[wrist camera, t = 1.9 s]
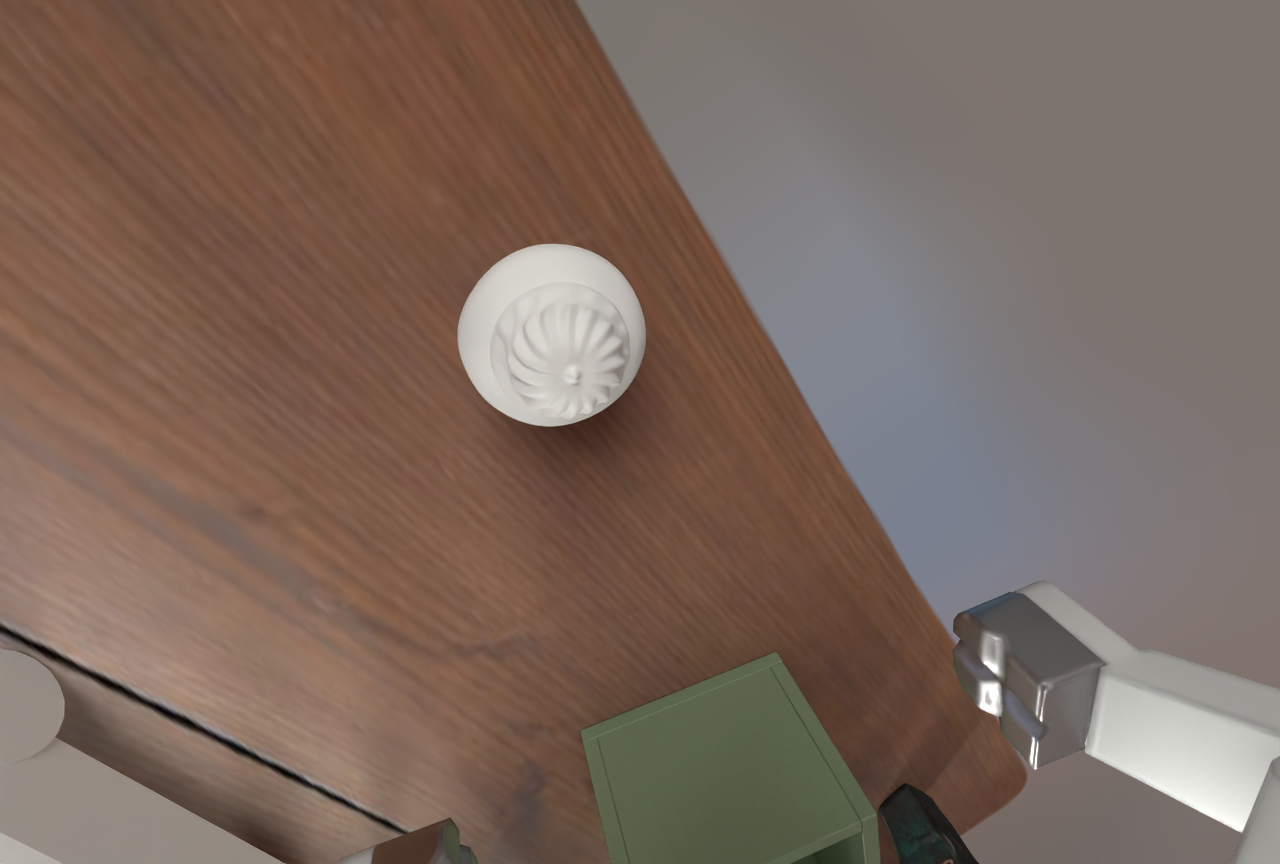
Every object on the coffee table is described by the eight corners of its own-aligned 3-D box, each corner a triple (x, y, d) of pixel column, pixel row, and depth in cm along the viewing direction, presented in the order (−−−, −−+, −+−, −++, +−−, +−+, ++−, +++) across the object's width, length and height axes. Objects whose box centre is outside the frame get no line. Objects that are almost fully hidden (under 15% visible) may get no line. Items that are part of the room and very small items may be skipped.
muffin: (633, 238, 25) (698, 285, 19) (605, 391, 27) (655, 476, 21) (461, 212, 23) (471, 255, 17) (448, 379, 25) (453, 469, 19)
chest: (579, 730, 36) (625, 927, 27) (776, 650, 37) (877, 814, 29) (646, 884, 44) (697, 1071, 35) (805, 813, 45) (890, 977, 37)
